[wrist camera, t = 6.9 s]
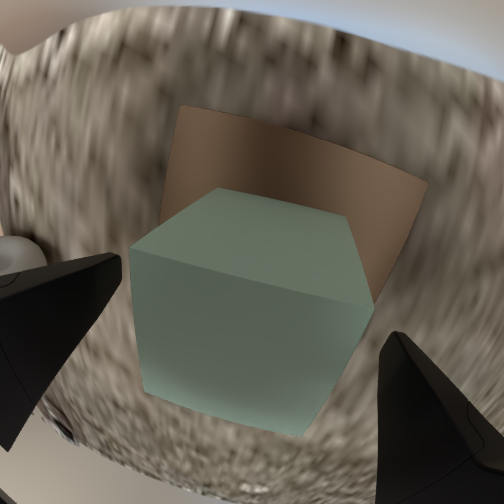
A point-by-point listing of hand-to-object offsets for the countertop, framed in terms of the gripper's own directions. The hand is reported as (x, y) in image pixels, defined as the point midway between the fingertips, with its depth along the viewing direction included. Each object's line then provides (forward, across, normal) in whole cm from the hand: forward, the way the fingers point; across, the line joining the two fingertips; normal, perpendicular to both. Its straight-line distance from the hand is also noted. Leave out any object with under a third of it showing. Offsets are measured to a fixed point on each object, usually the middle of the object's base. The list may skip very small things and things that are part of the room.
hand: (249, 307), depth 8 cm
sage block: (+4, 0, 0) cm, 4 cm away
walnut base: (+8, 0, 0) cm, 8 cm away
